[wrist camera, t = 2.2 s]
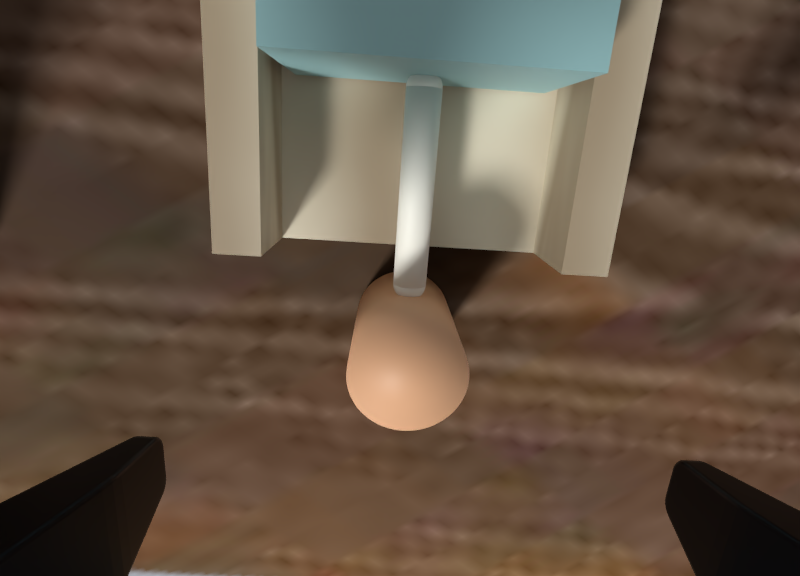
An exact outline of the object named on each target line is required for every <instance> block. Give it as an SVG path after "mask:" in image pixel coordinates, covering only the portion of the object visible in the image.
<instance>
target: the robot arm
mask: <svg viewBox="0 0 800 576" xmlns="http://www.w3.org/2000/svg"><path fill="white" fill-rule="evenodd" d="M165 484H166V472H165V461H164V450H163V443H162V441H161V439H159V438H158V437H144V436H136V437H133V438H130V439H128V440H126V441H124V442H122V443H120V444H118V445H116V446H114V447H112V448H110V449H108V450H106V451H104V452H102V453H100V454H98V455H96V456H94V457H92V458H90V459H88V460H86V461H84V462H82V463H80V464H78V465H76V466H74V467H72V468H70V469H68V470H66V471H64V472H62V473H60V474H58V475H56V476H54V477H52V478H50V479H48V480H46V481H44V482H42V483H40V484H38V485H36V486H34V487H32V488H30V489H28V490H26V491H24V492H22V493H20V494H18V495H16V496H14V497H12V498H10V499H8V500H6V501H4V502H2V503H0V576H128V574H129V572H130V570H131V568H132V565H133V563H134V561H135V558H136V556H137V554H138V551H139V549H140V547H141V544H142V542H143V539H144V537H145V535H146V532H147V530H148V528H149V525H150V523H151V521H152V518H153V516H154V514H155V511H156V509H157V507H158V504H159V502H160V499H161V497H162V495H163V492H164V489H165ZM665 505H666V510H667V513H668V516H669V518H670V520H671V523H672V525H673V527H674V529H675V531H676V534H677V536H678V538H679V540H680V542H681V545H682V547H683V549H684V551H685V553H686V556H687V558H688V560H689V562H690V564H691V567H692V569H693V571H694V573H695V575H696V576H800V511H799V510H797V509H795V508H793V507H791V506H789V505H787V504H785V503H783V502H781V501H779V500H777V499H776V498H774V497H772V496H770V495H768V494H766V493H764V492H762V491H760V490H758V489H756V488H754V487H752V486H750V485H748V484H746V483H744V482H742V481H740V480H738V479H736V478H734V477H733V476H731V475H729V474H727V473H725V472H723V471H721V470H719V469H717V468H715V467H713V466H711V465H709V464H707V463H705V462H702V461H687V460H681V461H679V462H677V463H676V464H675V466H674V468H673V472H672V476H671V479H670V483H669V487H668V490H667V494H666V499H665Z"/></svg>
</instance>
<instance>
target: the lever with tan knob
mask: <svg viewBox="0 0 800 576" xmlns="http://www.w3.org/2000/svg"><path fill="white" fill-rule="evenodd" d="M620 3H621V0H255V5H256V46H257V47H258V48H260V49H261V50H262V51H264V52H265V53H267V54H268V55H269V56H271V57H272V58H273V59H275V60H276V61H277V62H279V63H280V64H282V65H283V66H284V67H286V68H287V69H288V70H290V71H291V72H293V73H294V74H295V75H307V76H320V77H334V78H347V79H361V80H374V81H387V82H401V83H406V94H405V109H404V125H403V140H402V156H401V171H400V186H399V202H398V217H397V233H396V248H395V263H394V272H392V273H388V274H386V275H383V276H381V277H379V278H378V279H376V280H375V281H374V282H372V283H371V284H370V285H369V286H368V287H367V289H366V290H365V291H364V293H363V295H362V297H361V299H360V302H359V305H358V310H357V316H356V321H355V326H354V332H353V337H352V343H351V348H350V353H349V359H348V364H347V372H346V381H347V387H348V391H349V394H350V396H351V398H352V400H353V402H354V404H355V405H356V406H357V408H358V409H359V410H360V411H361V412H362V413H363V414H364V415H365V416H366V417H367V418H369V419H370V420H372V421H373V422H375V423H377V424H379V425H381V426H384V427H386V428H390V429H394V430H402V431H412V430H420V429H424V428H427V427H430V426H433V425H435V424H437V423H439V422H441V421H442V420H444V419H445V418H447V417H448V416H449V415H450V414H452V413H453V412H454V411H455V409H456V408H457V407H458V406H459V404H460V403H461V402H462V400H463V398H464V396H465V394H466V391H467V388H468V383H469V364H468V360H467V357H466V354H465V352H464V349H463V346H462V343H461V341H460V338H459V335H458V332H457V330H456V327H455V324H454V321H453V318H452V316H451V313H450V310H449V307H448V305H447V302H446V299H445V297H444V295H443V293H442V291H441V290H440V289H439V287H438V286H437V285H436V284H435V283H434V282H433V281H431V280H430V279H429V278H427V267H428V255H429V243H430V232H431V220H432V208H433V197H434V185H435V173H436V162H437V150H438V138H439V127H440V115H441V103H442V91H443V86H454V87H468V88H481V89H494V90H508V91H521V92H535V93H547V92H550V91H553V90H556V89H559V88H562V87H566V86H569V85H572V84H575V83H578V82H581V81H585V80H588V79H591V78H594V77H597V76H600V75H603V74H607V73H608V71H609V65H610V59H611V54H612V48H613V42H614V37H615V31H616V25H617V20H618V14H619V8H620Z"/></svg>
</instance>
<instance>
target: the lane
mask: <svg viewBox="0 0 800 576" xmlns="http://www.w3.org/2000/svg"><path fill="white" fill-rule="evenodd" d="M661 5H662V0H621V3H620V8H619V14H618V20H617V25H616V31H615V37H614V42H613V48H612V54H611V59H610V65H609V71H608V73H607V74H603V75H600V76H597V77H594V78H591V79H588V80H585V81H581V82H578V83H575V84H572V85H569V86H566V87H562V88H559V89H556V90H553V91H550V92H547V93H535V92H521V91H508V90H494V89H481V88H468V87H454V86H443V91H442V103H441V115H440V127H439V138H438V150H437V162H436V173H435V185H434V197H433V208H432V220H431V232H430V243H429V246H431V247H448V248H464V249H481V250H497V251H514V252H530V253H534V254H536V255H537V256H538V257H539V258H541V259H542V260H543V261H545V262H546V263H547V264H549V265H550V266H551V267H553V268H554V269H555V270H557V271H558V272H559V273H561V274H567V275H584V276H601V277H608V271H609V266H610V261H611V256H612V251H613V246H614V241H615V236H616V231H617V226H618V221H619V216H620V211H621V206H622V201H623V196H624V191H625V186H626V181H627V176H628V171H629V166H630V161H631V156H632V151H633V146H634V141H635V136H636V130H637V125H638V120H639V115H640V110H641V105H642V100H643V95H644V90H645V85H646V80H647V75H648V70H649V65H650V60H651V55H652V50H653V45H654V40H655V35H656V30H657V25H658V20H659V15H660V10H661ZM200 6H201V27H202V48H203V69H204V90H205V111H206V132H207V153H208V174H209V195H210V216H211V237H212V254H228V255H245V256H262V255H263V254H264V253H266V252H267V251H268V250H269V249H270V248H271V247H272V246H273V245H275V244H276V243H277V242H278V241H279V240H280V239H281V238H282V237H283V238H300V239H316V240H333V241H349V242H366V243H382V244H396V233H397V217H398V202H399V186H400V171H401V156H402V140H403V125H404V109H405V94H406V83H401V82H387V81H374V80H361V79H347V78H334V77H320V76H307V75H295V74H294V73H293V72H291V71H290V70H288V69H287V68H286V67H284V66H283V65H282V64H280V63H279V62H277V61H276V60H275V59H273V58H272V57H271V56H269V55H268V54H267V53H265V52H264V51H262V50H261V49H260V48H258V47H257V46H256V5H255V0H200Z"/></svg>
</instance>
